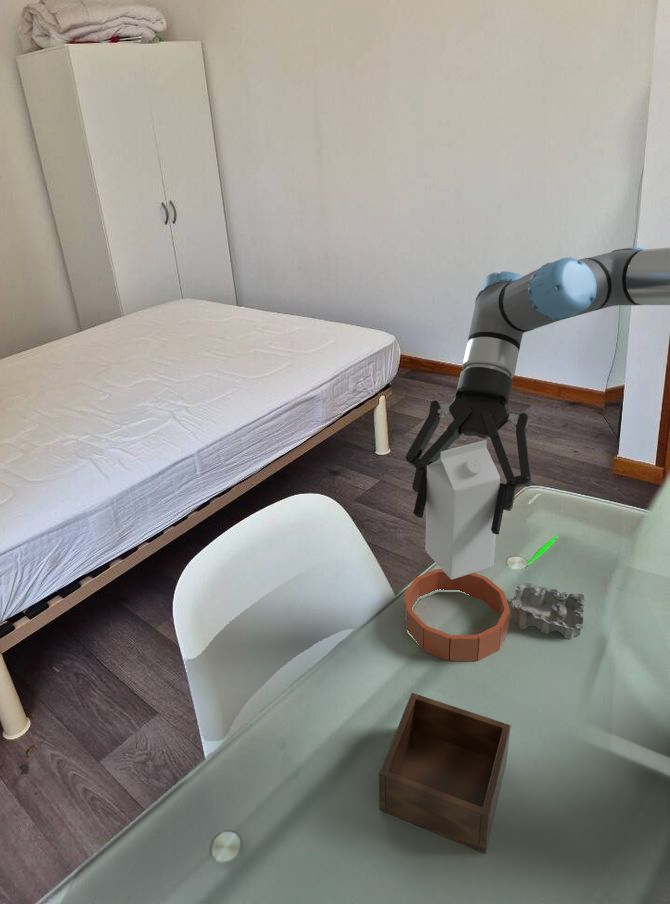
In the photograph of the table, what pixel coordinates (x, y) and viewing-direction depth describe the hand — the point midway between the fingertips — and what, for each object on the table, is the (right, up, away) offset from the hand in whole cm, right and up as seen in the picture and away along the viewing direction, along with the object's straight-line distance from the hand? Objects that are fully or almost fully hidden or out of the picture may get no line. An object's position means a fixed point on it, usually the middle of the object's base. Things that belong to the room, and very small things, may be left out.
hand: (455, 523), depth 94 cm
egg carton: (+18, -18, +15) cm, 29 cm away
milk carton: (+2, -6, +6) cm, 9 cm away
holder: (-3, -31, -9) cm, 32 cm away
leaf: (+23, -10, +30) cm, 39 cm away
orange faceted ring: (+3, -18, +15) cm, 24 cm away
